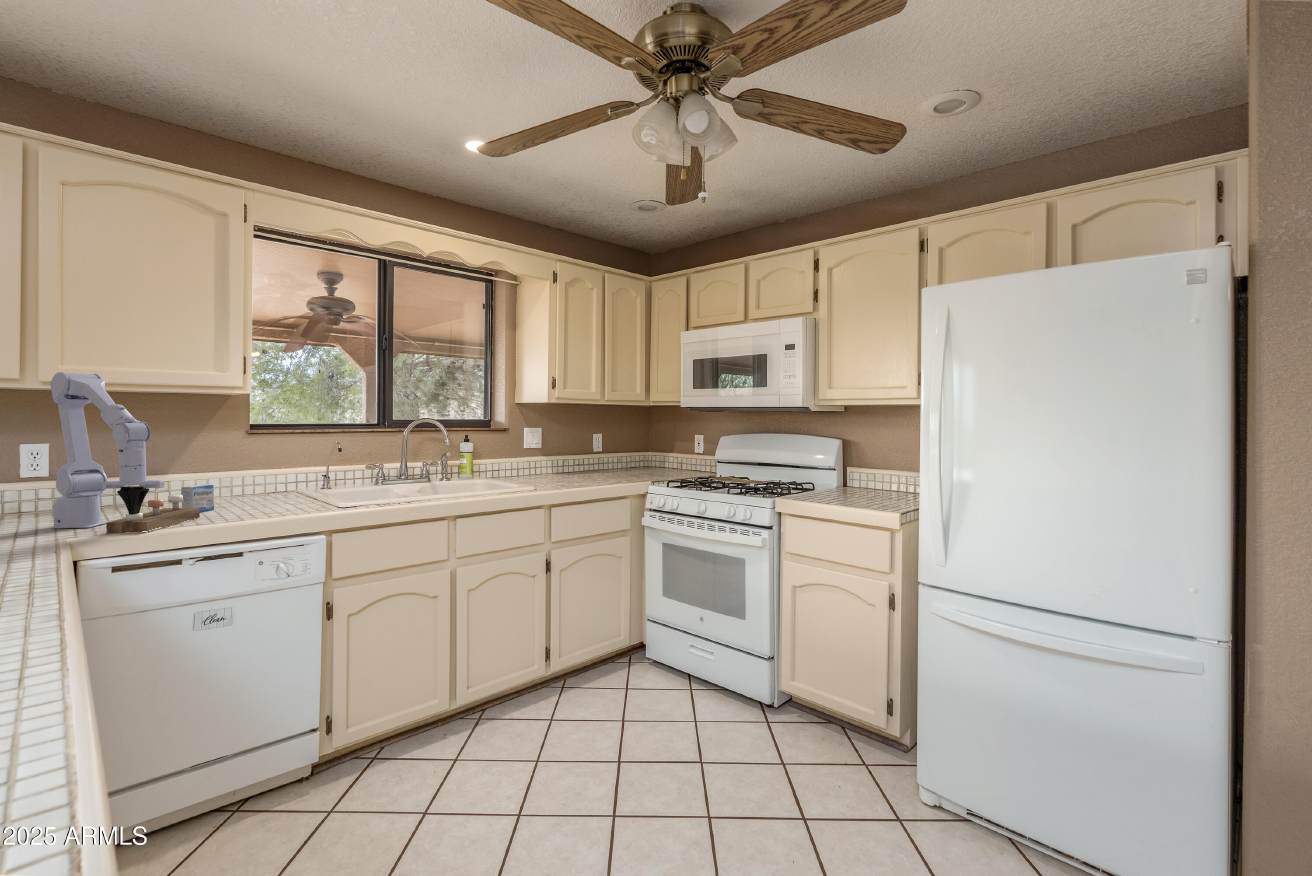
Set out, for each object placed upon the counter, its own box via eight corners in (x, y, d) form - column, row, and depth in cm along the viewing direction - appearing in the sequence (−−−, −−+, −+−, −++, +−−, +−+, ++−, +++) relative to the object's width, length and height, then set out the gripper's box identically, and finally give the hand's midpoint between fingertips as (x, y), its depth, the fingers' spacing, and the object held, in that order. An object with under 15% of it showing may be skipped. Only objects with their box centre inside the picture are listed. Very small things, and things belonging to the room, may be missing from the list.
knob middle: (145, 516, 176) (144, 501, 176) (153, 514, 180) (153, 499, 180) (158, 516, 177) (158, 501, 177) (166, 514, 180) (166, 499, 180)
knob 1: (122, 531, 168) (122, 515, 167) (132, 528, 171) (131, 512, 171) (137, 531, 168) (136, 514, 168) (146, 528, 172) (145, 512, 171)
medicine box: (192, 513, 198) (191, 487, 197) (181, 513, 198) (180, 486, 198) (214, 509, 205) (214, 484, 205) (203, 509, 206) (203, 483, 206)
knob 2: (165, 511, 185) (165, 496, 185) (173, 509, 189) (172, 495, 189) (178, 511, 186) (178, 496, 185) (185, 509, 189) (185, 494, 189)
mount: (106, 533, 166) (106, 522, 166) (164, 517, 190) (164, 508, 189) (147, 532, 167) (146, 521, 167) (199, 517, 191) (199, 507, 191)
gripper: (92, 467, 164) (94, 517, 164) (151, 466, 166) (153, 516, 166) (111, 464, 171) (113, 512, 171) (168, 464, 173) (170, 511, 173)
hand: (134, 514), depth 169 cm, fingers closed, pressing on knob 1
